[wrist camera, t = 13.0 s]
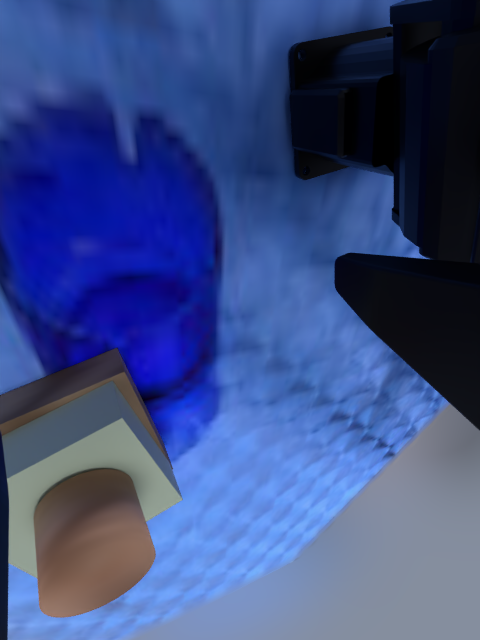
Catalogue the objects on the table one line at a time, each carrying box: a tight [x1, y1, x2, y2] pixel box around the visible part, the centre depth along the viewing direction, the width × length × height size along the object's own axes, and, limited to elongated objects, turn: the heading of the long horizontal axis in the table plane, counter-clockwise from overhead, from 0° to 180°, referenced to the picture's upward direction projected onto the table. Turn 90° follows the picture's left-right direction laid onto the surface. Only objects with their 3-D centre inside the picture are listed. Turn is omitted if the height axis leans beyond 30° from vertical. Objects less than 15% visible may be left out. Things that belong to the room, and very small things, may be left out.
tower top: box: [2, 380, 183, 579], centre depth 21 cm, size 9×9×3 cm
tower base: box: [0, 348, 173, 469], centre depth 23 cm, size 10×10×3 cm
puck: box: [33, 469, 156, 617], centre depth 18 cm, size 5×5×4 cm
